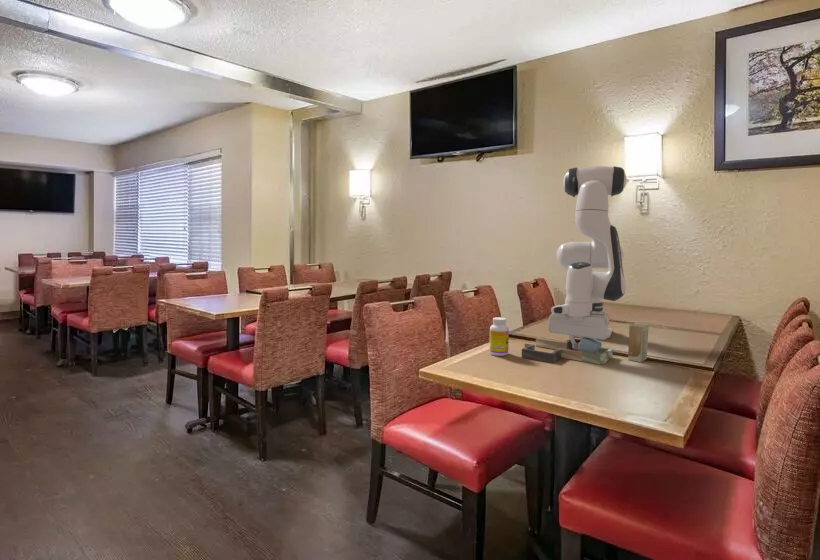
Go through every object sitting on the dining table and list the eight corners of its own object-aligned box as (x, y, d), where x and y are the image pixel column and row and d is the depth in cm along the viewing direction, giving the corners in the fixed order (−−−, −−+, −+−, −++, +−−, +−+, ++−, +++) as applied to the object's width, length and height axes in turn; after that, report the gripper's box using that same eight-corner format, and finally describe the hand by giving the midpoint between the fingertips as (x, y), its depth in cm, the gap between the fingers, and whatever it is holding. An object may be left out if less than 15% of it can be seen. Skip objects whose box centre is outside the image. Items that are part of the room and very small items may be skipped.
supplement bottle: (508, 356, 167) (509, 320, 166) (489, 355, 169) (489, 319, 167) (508, 352, 174) (509, 317, 172) (489, 351, 175) (490, 316, 174)
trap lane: (544, 341, 189) (545, 334, 189) (618, 352, 173) (618, 344, 172) (514, 356, 168) (515, 347, 168) (595, 370, 151) (596, 361, 151)
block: (581, 350, 169) (587, 335, 168) (595, 357, 167) (601, 341, 165) (577, 353, 165) (583, 338, 164) (591, 360, 163) (597, 344, 161)
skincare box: (634, 356, 168) (636, 322, 166) (647, 359, 164) (649, 323, 163) (627, 360, 163) (628, 324, 162) (640, 362, 160) (642, 326, 159)
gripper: (612, 311, 162) (610, 351, 164) (553, 305, 175) (552, 342, 176) (606, 313, 158) (604, 355, 159) (546, 307, 170) (545, 345, 172)
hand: (576, 348), depth 168 cm, fingers closed
